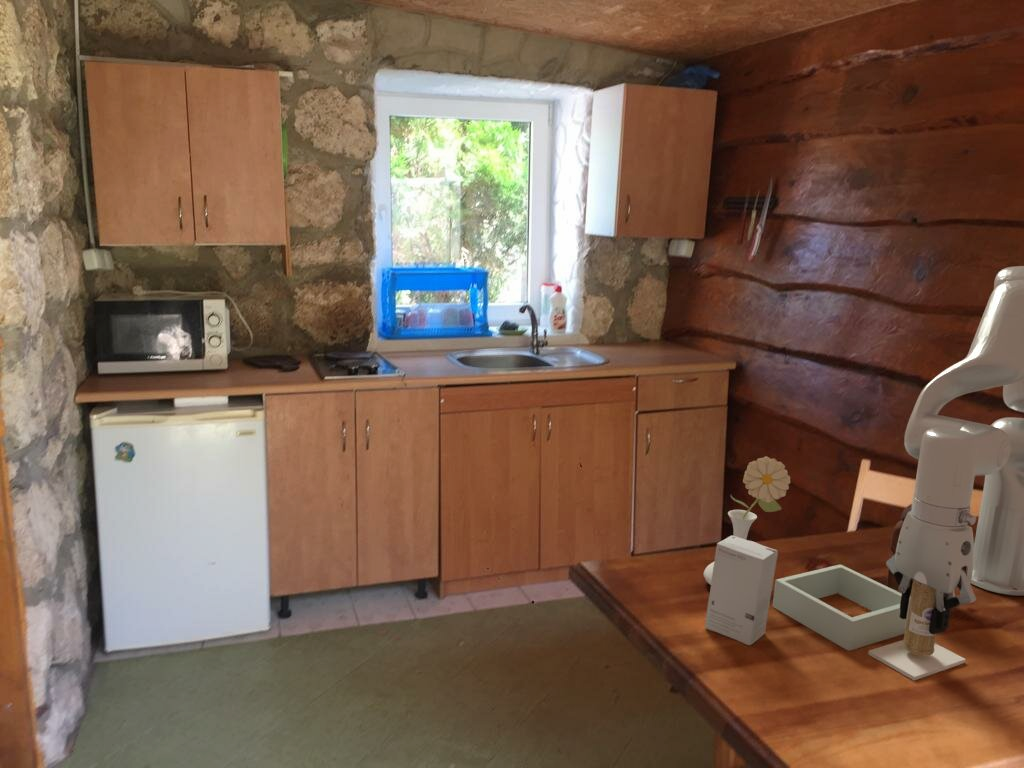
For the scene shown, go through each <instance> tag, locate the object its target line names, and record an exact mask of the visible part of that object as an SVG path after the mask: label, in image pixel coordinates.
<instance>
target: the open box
mask: <svg viewBox="0 0 1024 768" xmlns="http://www.w3.org/2000/svg"><path fill="white" fill-rule="evenodd" d="M773 591H774V592H773V598H772V606H771V607H772V608H774V609H776V610H778V611H779V612H781V613H782V614H784V615H786V616H788V617H789V618H790V619H793V620H794V621H796V622H798V623H800V624H802V625H803V626H805V627H807V628H808V629H810V630H811V631H813V632H815V633H817V634H819V635H820V636H822V637H824V638H826V639H827V640H828V641H831V642H832V643H834V644H836V645H838V646H839V647H841V648H842V649H845V650H847V651H848V652H850V651H852V650H856V649H859V648H862V647H865V646H869V645H872V644H876V643H878V642H882V641H885V640H888V639H893V638H896V637H898V636H901V635H905V628H906V627H905V624H906V619H901V618H900V617H899V616H900V603H901V596H902V593H899V592H897V591H895V590H893V589H891V588H889V587H887V585H885V584H882V583H880V582H878V581H876V580H874V579H872V578H870V577H868V576H866V575H864V574H861V573H859V572H857V571H855V570H853V569H851V568H849V567H847V566H845V565H843V564H840V563H839V564H837V565H831V566H828V567H827V566H826V567H824V568H819V569H814V570H810V571H807V572H802V573H798V574H794V575H789V576H785V577H781V578H778V579H775V581H774V590H773ZM836 594H838V595H841V596H842V597H844V598H845V599H848V600H850V601H852V602H854V603H856V604H858V605H859V606H862V607H864V608H865V609H867V610H869V611H870V612H865V613H862V614H860V615H856V616H850V615H848V614H847V613H844V612H843V611H840V610H839V609H837V608H836V607H834V606H831V605H829V604H828V603H827V602H824V601H822V600H821V598H822V599H823V598H824V597H829V596H832V595H836Z"/></svg>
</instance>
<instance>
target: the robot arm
mask: <svg viewBox="0 0 1024 768" xmlns="http://www.w3.org/2000/svg"><path fill="white" fill-rule="evenodd" d="M979 321H980V322H979V325H978V327H977V329H976V332H975V334H974V337H973V340H972V342H971V345H970V348H969V351H968V353H967V355H966V357H965V358H963V359H962V360H960V361H958V362H956V363H954V364H952V365H951V366H949V367H947V368H946V369H944V370H942V371H941V372H940V373H938V374H937V375H936V376H935V377H934V378H933V379H931V380H930V381H929V382H928V383H927V384H926V385H925V386H924V387H923V389H922V390H921V392H920V394H919V395H918V397H917V400H916V402H915V404H914V406H913V410H912V412H911V414H910V416H909V419H908V422H907V425H906V428H905V432H904V438H903V439H904V444H903V445H904V447H905V450H906V452H907V453H908V455H910V456H911V457H913V458H914V459H916V460H918V462H917V463H918V464H917V469H916V477H915V484H914V491H913V496H912V503H911V504H912V509H911V511H910V512H908V513H907V516H906V518H905V520H904V523H903V525H902V529H901V532H900V535H899V539H898V543H897V548H896V554H895V555H893V554H892V556H890V558H889V559H887V561H886V563H885V564H886V567H887V568H888V570H889V569H890V571H891V572H892V573H893V574H894V577H895V579H896V581H897V583H898V585H899V591H900V592H901V593H902V596H901V603H900V616H899V617H900V618H901V619H906V617H907V611H908V604H909V598H910V594H911V589H912V583H913V579H914V576H915V575H916V573H917V572H921V573H923V574H924V576H925V578H926V581H927V585H928V586H929V587H931V588H933V589H935V591H936V607H937V608H934V609H933V610H932V614H931V620H930V626H929V632H930V633H931V634H933V635H934V634H936V635H937V634H940V633H942V632H945V631H946V630H947V629H948V627H949V622H950V616H951V611H952V609H954V608H956V607H959V606H962V605H967V604H970V603H974V602H975V601H976V600H977V597H976V595H975V593H974V591H973V590H974V589H973V587H972V585H974V586H975V587H978V588H981V589H983V590H986V591H989V592H993V593H997V594H1001V595H1007V596H1014V597H1015V596H1018V597H1020V596H1021V597H1022V596H1024V418H1023V417H1010V416H1009V417H1008V416H1007V417H1002V418H998V419H997V420H995V421H994V422H993V423H992V422H991V423H992V424H990V425H989V424H986V423H980V422H975V421H970V420H967V419H966V420H965V419H961V418H955V417H951V416H945V415H939V413H940V411H941V410H942V408H943V407H944V406H946V404H948V403H949V402H951V401H952V400H954V399H956V398H957V397H961V396H963V395H966V394H970V393H974V392H975V393H976V392H979V391H985V390H989V389H993V388H998V387H1003V388H1002V399H1003V402H1004V404H1005V405H1006V406H1007V407H1008V408H1009V409H1012V410H1014V411H1016V412H1020V413H1024V265H1017V266H1016V265H1015V266H1008V267H1005V268H1003V269H1001V270H1000V271H998V273H996V276H995V279H994V282H993V291H992V292H991V294H990V295H989V298H988V301H987V304H986V306H985V309H984V312H983V313H982V317H981V318H980V320H979ZM976 476H977V477H978V476H984V482H983V483H984V484H983V490H982V496H981V501H980V502H981V504H980V507H979V514H978V519H977V516H975V515H973V514H971V508H972V507H971V503H972V497H973V490H974V483H975V478H976ZM977 520H978V521H977ZM976 521H977V525H976V530H975V531H976V532H975V537H974V532H973V531H974V530H973V527H972V526H973V525H974V524H975V523H976ZM968 524H969V525H968ZM971 525H972V526H971ZM914 580H915V579H914ZM956 588H957V589H958V591H959V593H960V594H959V595H956V593H955V592H956V591H955V589H956Z"/></svg>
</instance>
